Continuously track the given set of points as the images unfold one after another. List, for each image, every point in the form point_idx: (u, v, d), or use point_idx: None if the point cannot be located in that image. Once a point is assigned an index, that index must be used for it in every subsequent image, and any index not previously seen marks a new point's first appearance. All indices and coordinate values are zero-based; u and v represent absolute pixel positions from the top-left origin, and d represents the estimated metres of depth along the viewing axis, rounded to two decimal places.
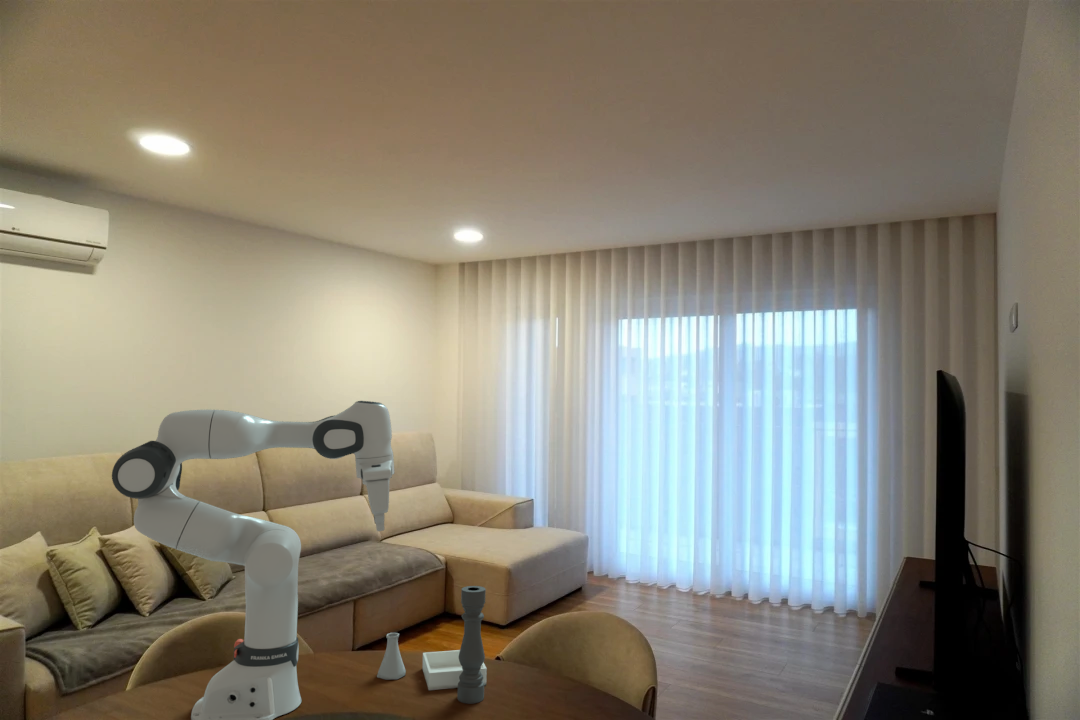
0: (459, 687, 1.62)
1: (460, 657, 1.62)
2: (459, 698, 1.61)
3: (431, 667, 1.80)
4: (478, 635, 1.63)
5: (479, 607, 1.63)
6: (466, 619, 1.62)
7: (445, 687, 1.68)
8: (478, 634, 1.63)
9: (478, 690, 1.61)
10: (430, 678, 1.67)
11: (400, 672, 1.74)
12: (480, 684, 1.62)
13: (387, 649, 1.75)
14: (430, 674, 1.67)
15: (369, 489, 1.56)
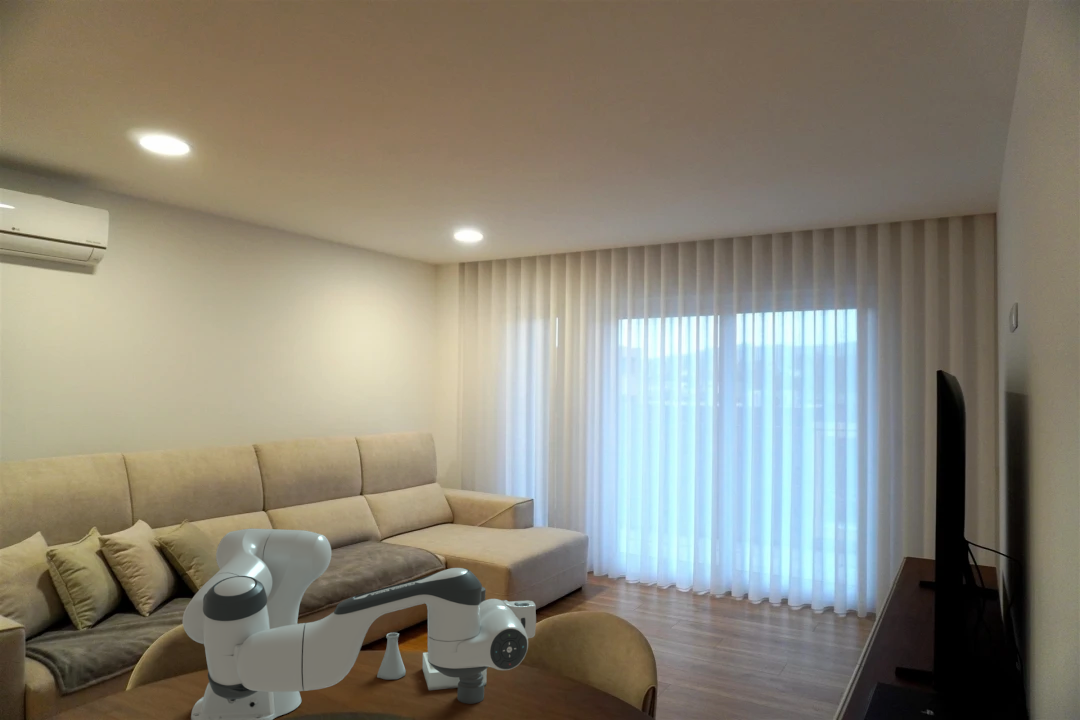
0: (459, 687, 1.62)
1: None
2: (459, 698, 1.61)
3: (431, 667, 1.80)
4: None
5: None
6: None
7: (445, 687, 1.68)
8: None
9: (478, 690, 1.61)
10: (430, 678, 1.67)
11: (400, 672, 1.74)
12: (480, 684, 1.62)
13: (387, 649, 1.75)
14: (430, 674, 1.67)
15: None
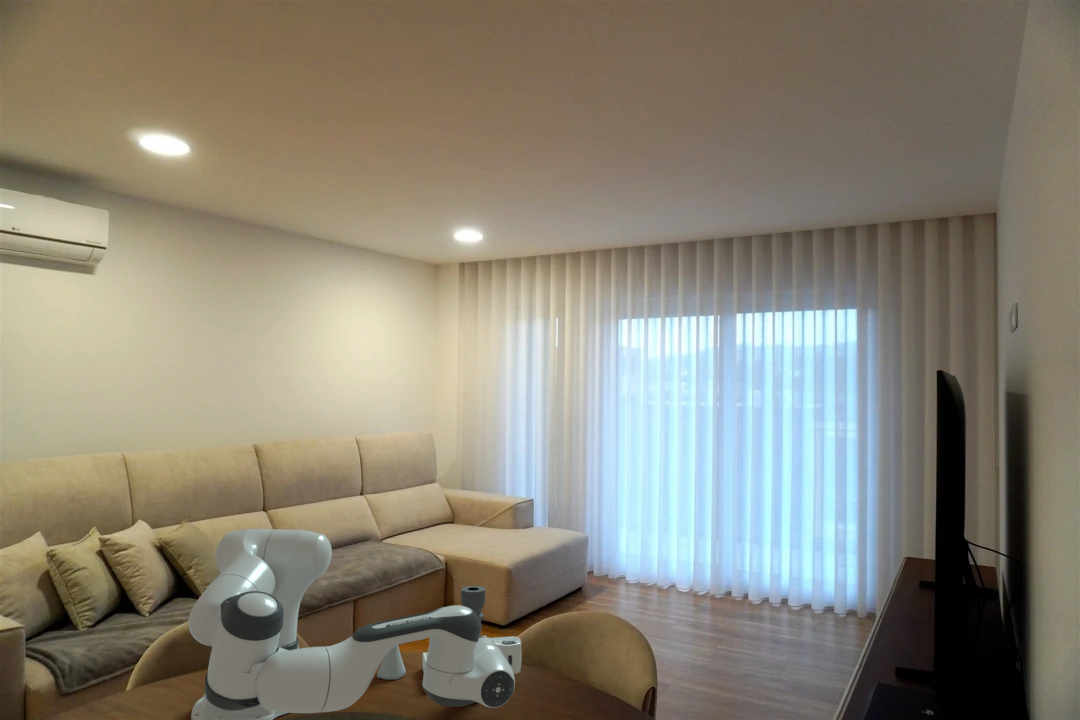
0: None
1: None
2: None
3: None
4: None
5: (479, 607, 1.63)
6: None
7: None
8: None
9: None
10: None
11: (400, 672, 1.74)
12: None
13: None
14: None
15: None
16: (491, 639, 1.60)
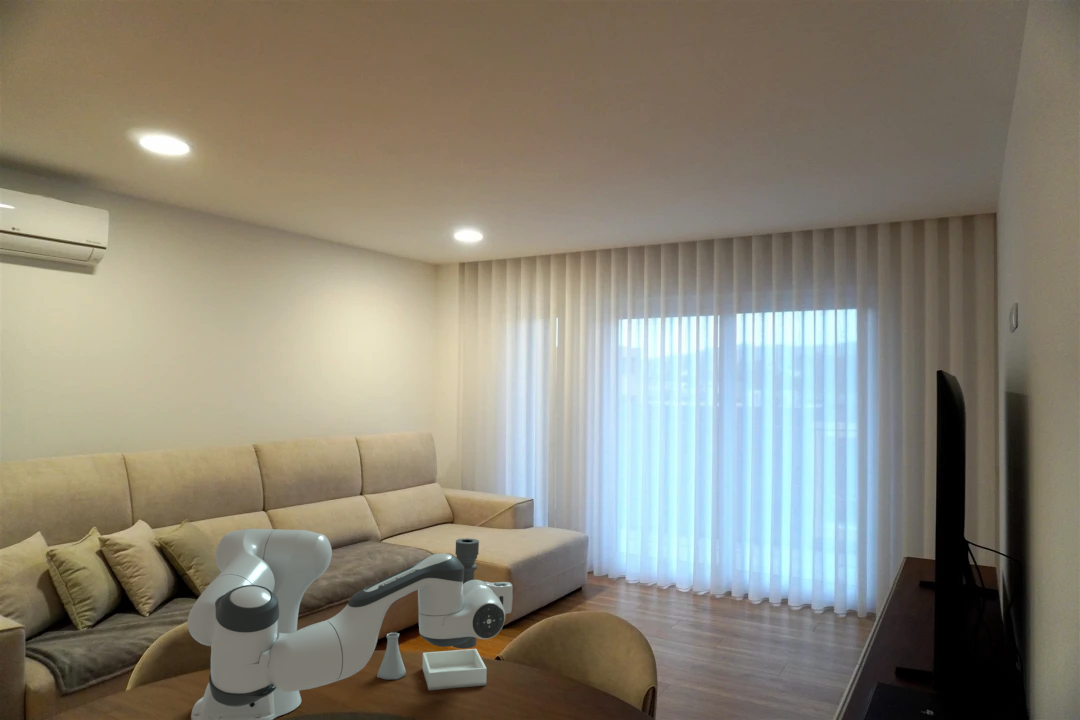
0: None
1: None
2: None
3: (431, 667, 1.80)
4: None
5: (472, 558, 1.70)
6: None
7: (445, 687, 1.68)
8: None
9: None
10: (430, 678, 1.67)
11: (400, 672, 1.74)
12: None
13: (387, 649, 1.75)
14: (430, 674, 1.67)
15: None
16: None
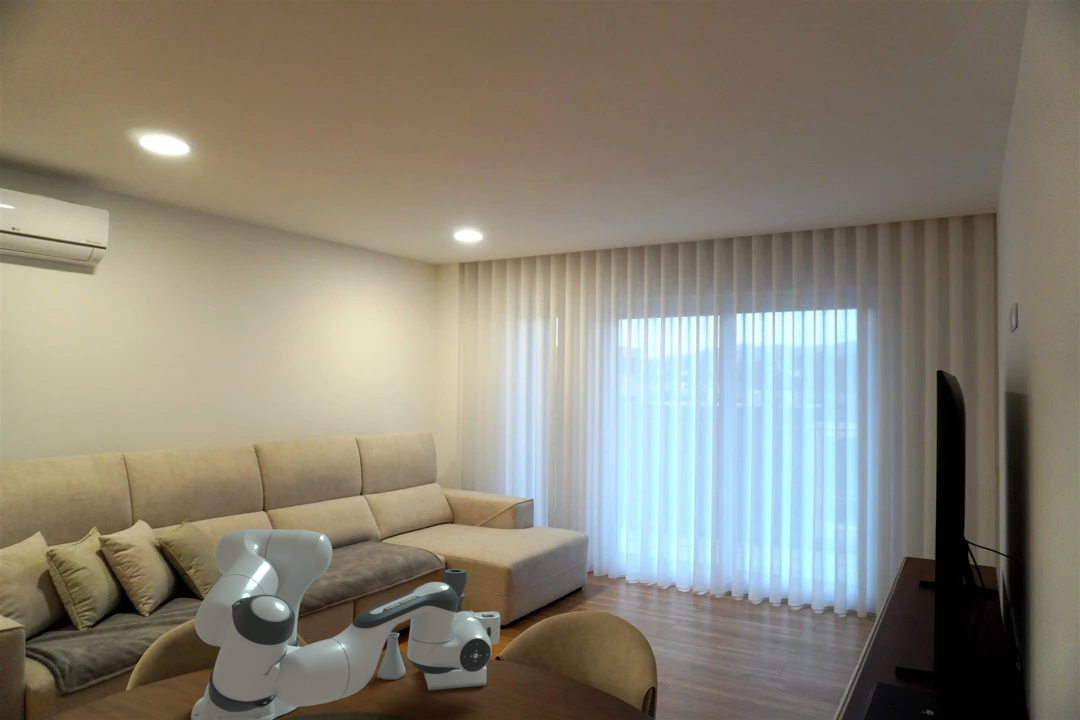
0: None
1: None
2: None
3: None
4: None
5: (460, 587, 1.76)
6: None
7: (445, 687, 1.68)
8: None
9: None
10: (430, 678, 1.67)
11: (400, 672, 1.74)
12: None
13: (387, 649, 1.75)
14: (430, 674, 1.67)
15: None
16: None
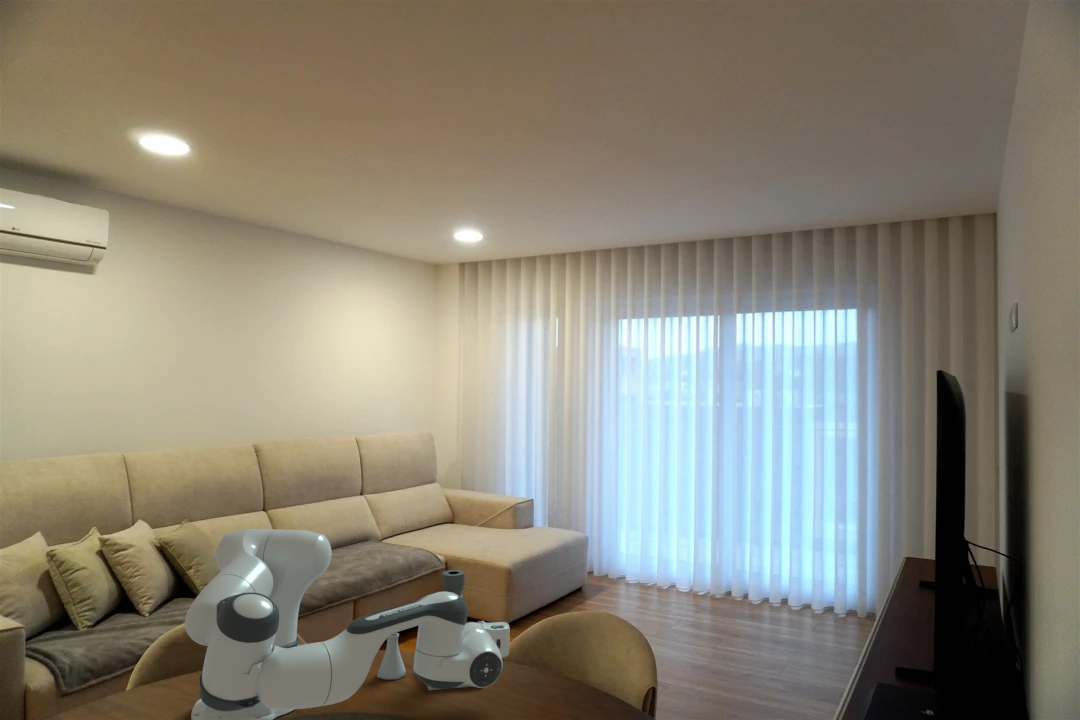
0: None
1: None
2: None
3: None
4: None
5: (458, 589, 1.75)
6: None
7: None
8: None
9: None
10: None
11: (400, 672, 1.74)
12: None
13: (387, 649, 1.75)
14: None
15: None
16: None
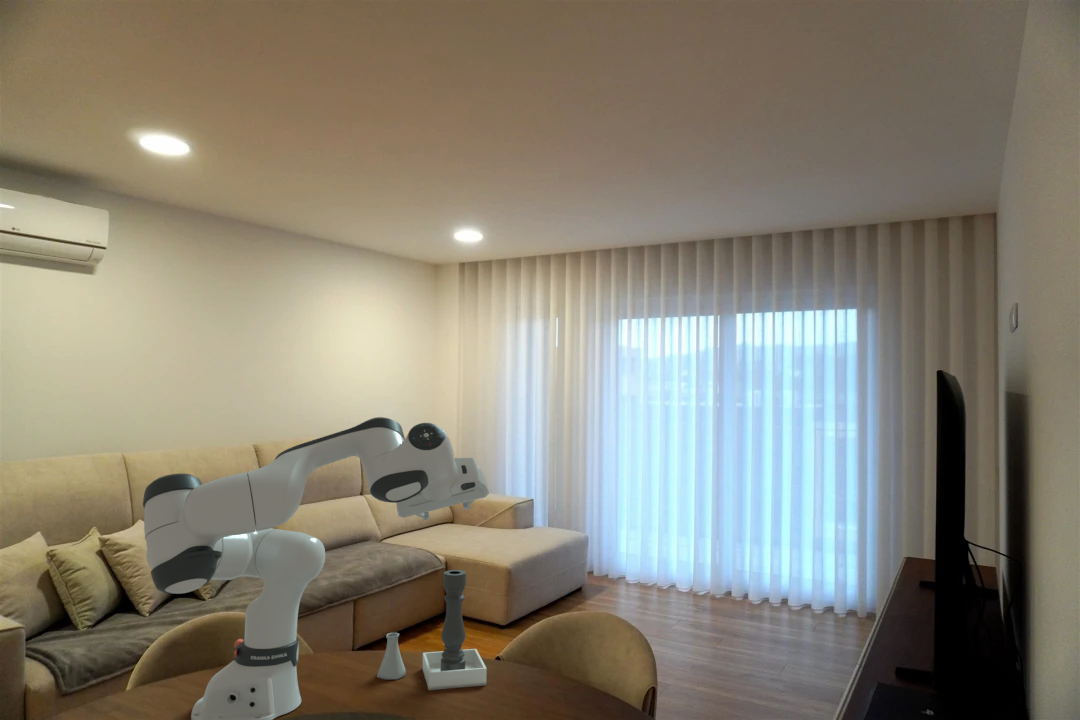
0: (441, 663, 1.75)
1: (442, 635, 1.75)
2: None
3: (431, 667, 1.80)
4: (459, 615, 1.76)
5: (460, 589, 1.75)
6: (448, 600, 1.75)
7: (445, 687, 1.68)
8: (459, 614, 1.76)
9: (459, 665, 1.74)
10: (430, 678, 1.67)
11: (400, 672, 1.74)
12: (461, 661, 1.75)
13: (387, 649, 1.75)
14: (430, 674, 1.67)
15: (484, 484, 1.51)
16: None
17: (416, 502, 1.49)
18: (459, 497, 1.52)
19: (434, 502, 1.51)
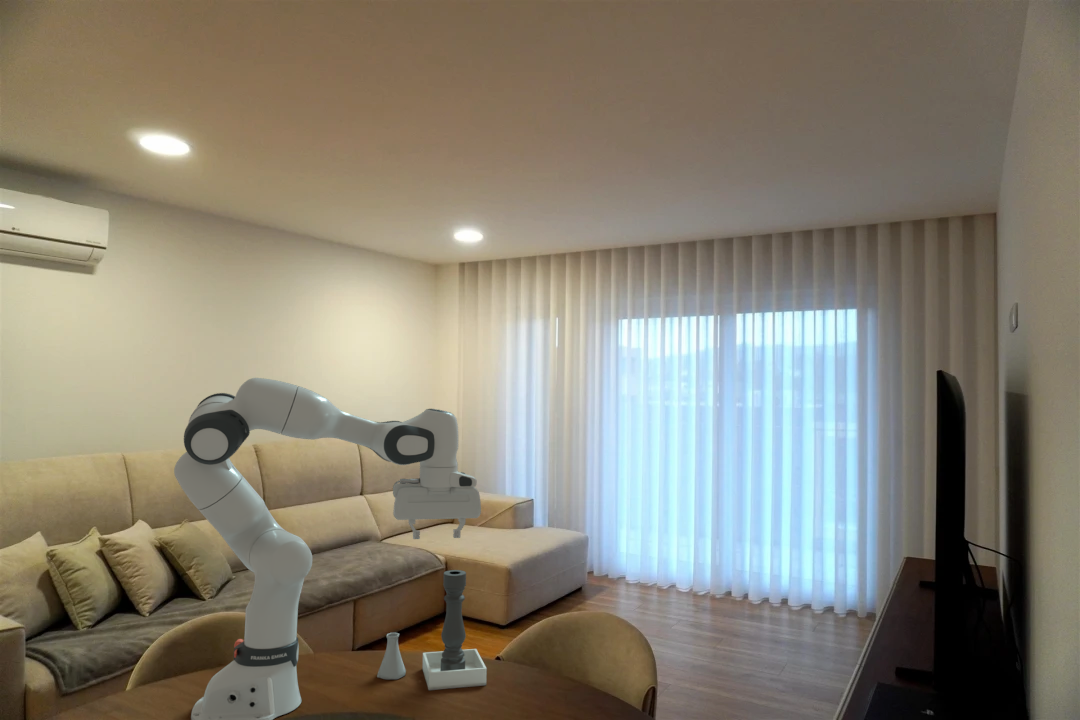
0: (441, 663, 1.74)
1: (442, 635, 1.75)
2: None
3: (431, 667, 1.80)
4: (459, 615, 1.75)
5: (460, 589, 1.75)
6: (448, 600, 1.75)
7: (445, 687, 1.68)
8: (459, 614, 1.76)
9: (459, 665, 1.74)
10: (430, 678, 1.67)
11: (400, 672, 1.74)
12: (461, 661, 1.75)
13: (387, 649, 1.75)
14: (430, 674, 1.67)
15: None
16: None
17: (414, 499, 1.61)
18: (453, 505, 1.63)
19: (430, 504, 1.61)
